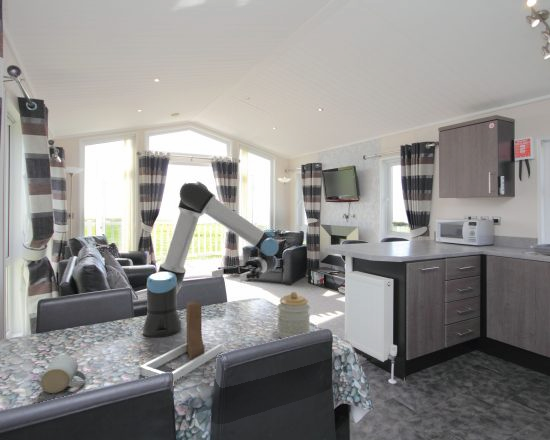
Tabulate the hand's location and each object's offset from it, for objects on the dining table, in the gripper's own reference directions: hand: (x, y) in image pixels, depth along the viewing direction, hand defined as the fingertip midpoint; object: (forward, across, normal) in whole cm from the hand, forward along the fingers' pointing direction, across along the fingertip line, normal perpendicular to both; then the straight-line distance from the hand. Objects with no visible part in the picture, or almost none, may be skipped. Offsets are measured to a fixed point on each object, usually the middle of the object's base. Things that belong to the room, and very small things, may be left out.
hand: (226, 276), depth 128 cm
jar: (-16, -22, -25) cm, 36 cm away
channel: (+23, +1, -24) cm, 33 cm away
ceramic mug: (+50, +20, -24) cm, 59 cm away
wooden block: (+18, 0, -25) cm, 30 cm away
